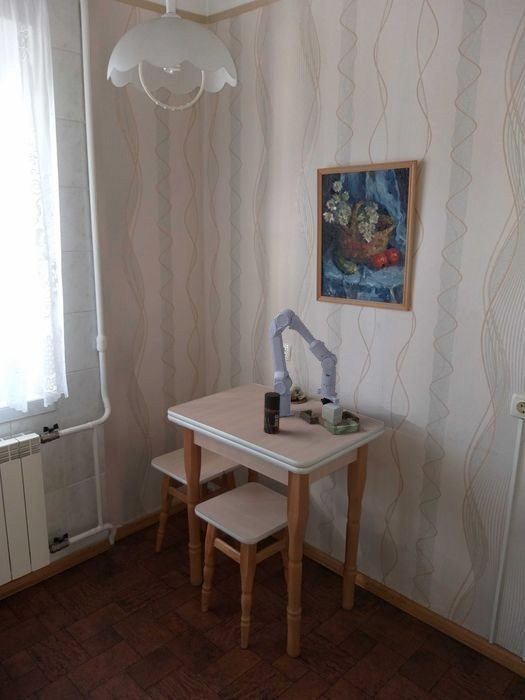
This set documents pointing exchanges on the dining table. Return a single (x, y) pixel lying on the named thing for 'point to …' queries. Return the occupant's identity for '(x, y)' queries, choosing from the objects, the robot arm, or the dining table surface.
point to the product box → (332, 413)
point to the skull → (297, 394)
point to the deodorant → (271, 412)
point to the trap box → (351, 424)
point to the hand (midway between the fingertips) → (327, 415)
